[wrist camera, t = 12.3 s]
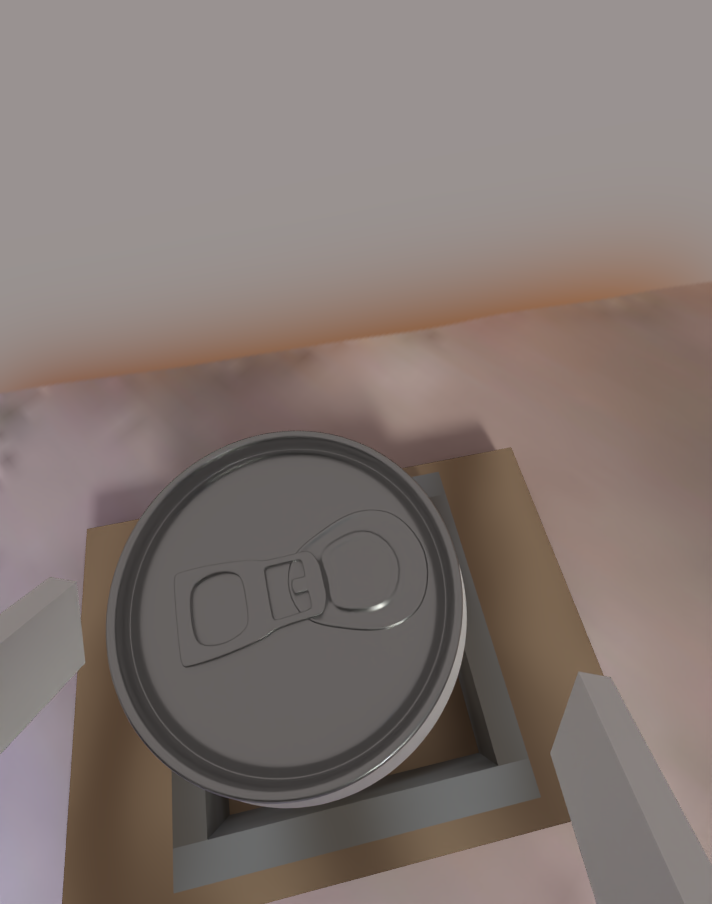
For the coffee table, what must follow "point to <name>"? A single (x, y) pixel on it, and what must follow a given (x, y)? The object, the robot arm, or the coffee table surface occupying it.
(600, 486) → the coffee table surface
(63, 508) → the coffee table surface
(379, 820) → the wooden board with frame
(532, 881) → the coffee table surface
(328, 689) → the can
